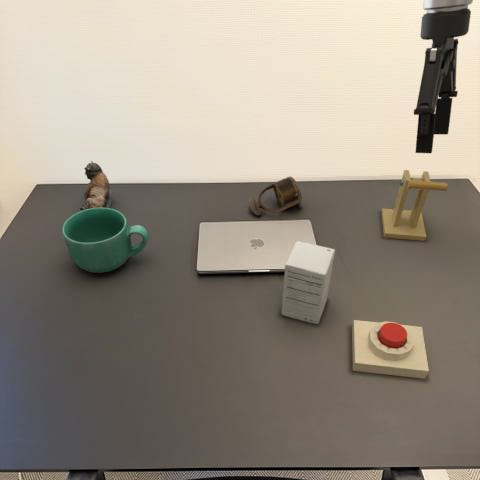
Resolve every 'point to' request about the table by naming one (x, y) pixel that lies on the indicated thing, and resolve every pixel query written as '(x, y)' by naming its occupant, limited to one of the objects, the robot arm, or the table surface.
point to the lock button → (392, 335)
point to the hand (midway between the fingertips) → (432, 143)
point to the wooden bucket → (279, 196)
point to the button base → (388, 351)
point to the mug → (101, 239)
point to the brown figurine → (96, 188)
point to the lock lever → (426, 185)
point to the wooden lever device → (406, 213)
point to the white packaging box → (307, 281)
